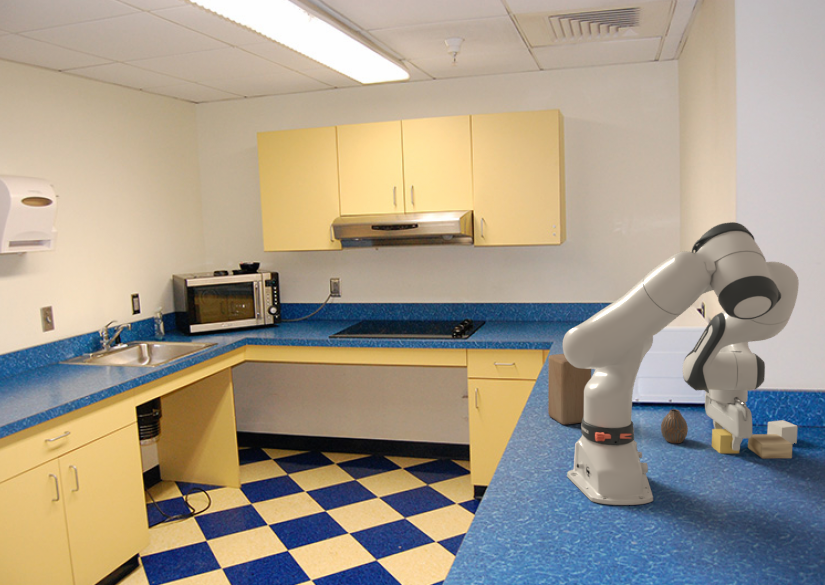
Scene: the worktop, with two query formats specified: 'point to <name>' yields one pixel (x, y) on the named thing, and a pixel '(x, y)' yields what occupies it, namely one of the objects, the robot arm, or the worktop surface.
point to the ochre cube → (722, 441)
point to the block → (566, 390)
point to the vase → (674, 427)
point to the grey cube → (783, 430)
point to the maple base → (770, 446)
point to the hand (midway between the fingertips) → (727, 443)
